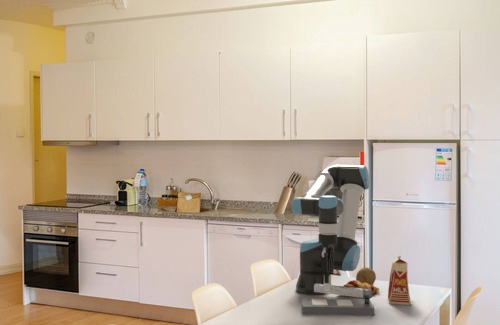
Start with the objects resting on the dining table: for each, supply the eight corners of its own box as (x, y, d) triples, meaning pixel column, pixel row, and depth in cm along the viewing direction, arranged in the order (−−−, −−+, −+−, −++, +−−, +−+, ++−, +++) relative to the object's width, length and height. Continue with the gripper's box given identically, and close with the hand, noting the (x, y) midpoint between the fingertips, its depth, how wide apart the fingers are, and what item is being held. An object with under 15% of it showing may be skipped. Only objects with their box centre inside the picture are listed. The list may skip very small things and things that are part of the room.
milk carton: (411, 305, 235) (411, 257, 234) (388, 303, 236) (388, 256, 236) (409, 299, 244) (410, 253, 243) (387, 298, 245) (388, 252, 245)
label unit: (301, 305, 233) (301, 293, 233) (369, 306, 232) (369, 294, 232) (302, 314, 221) (302, 301, 221) (374, 315, 220) (374, 302, 220)
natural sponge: (364, 292, 255) (364, 270, 255) (351, 287, 263) (352, 266, 263) (379, 289, 260) (379, 268, 260) (366, 285, 268) (367, 264, 267)
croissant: (375, 299, 257) (371, 282, 260) (385, 293, 248) (381, 276, 251) (333, 301, 250) (329, 284, 254) (342, 296, 242) (338, 278, 245)
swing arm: (316, 290, 237) (316, 283, 237) (372, 296, 227) (372, 289, 226) (313, 292, 234) (313, 284, 234) (370, 298, 223) (370, 291, 223)
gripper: (324, 230, 238) (323, 286, 238) (313, 234, 226) (313, 293, 227) (341, 231, 234) (340, 288, 235) (331, 236, 223) (331, 295, 223)
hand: (327, 290), depth 231 cm, fingers closed
